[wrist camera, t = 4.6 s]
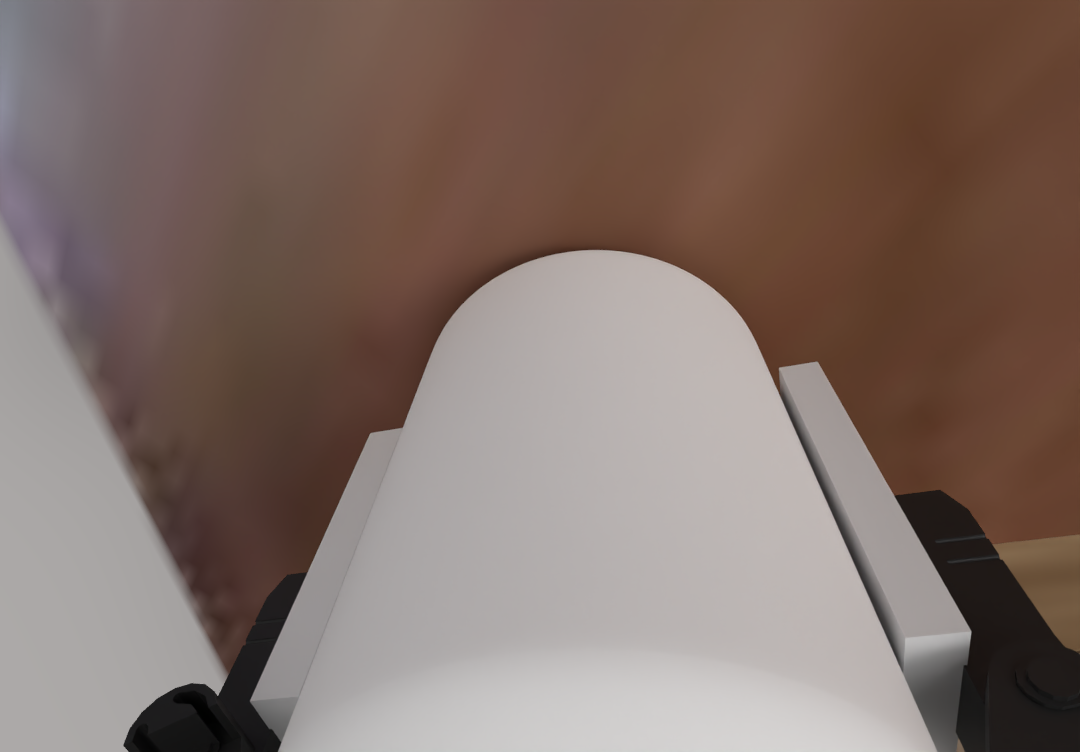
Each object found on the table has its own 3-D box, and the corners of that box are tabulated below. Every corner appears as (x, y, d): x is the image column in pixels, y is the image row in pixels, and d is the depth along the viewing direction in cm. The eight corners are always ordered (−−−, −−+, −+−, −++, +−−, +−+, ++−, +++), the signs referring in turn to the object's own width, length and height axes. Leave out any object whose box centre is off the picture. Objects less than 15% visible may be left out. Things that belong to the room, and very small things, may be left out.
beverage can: (564, 161, 14) (513, 671, 4) (832, 373, 17) (1232, 1046, 6) (371, 414, 18) (87, 1023, 8) (612, 560, 20) (642, 1185, 10)
